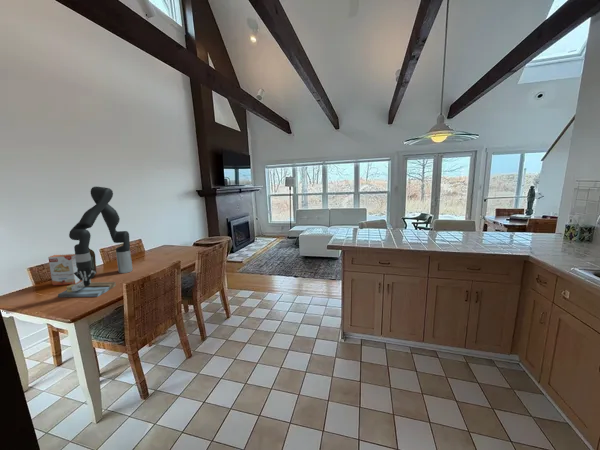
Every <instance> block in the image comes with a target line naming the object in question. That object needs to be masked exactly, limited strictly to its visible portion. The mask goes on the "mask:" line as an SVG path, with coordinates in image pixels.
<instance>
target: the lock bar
mask: <svg viewBox="0 0 600 450" xmlns="http://www.w3.org/2000/svg"><path fill="white" fill-rule="evenodd" d="M91 282H92V279H90V283H91ZM73 285H74V286H72V287H71V288H72V291H78V290H80V289H82V288H83V287H85V285H84V282H83V280H80V282H78V283H76V285H75V284H73Z"/></svg>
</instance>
